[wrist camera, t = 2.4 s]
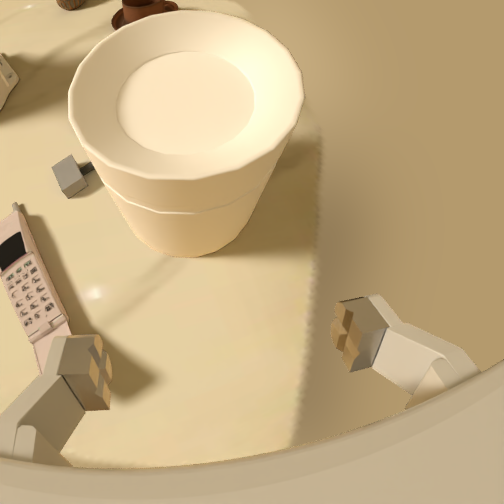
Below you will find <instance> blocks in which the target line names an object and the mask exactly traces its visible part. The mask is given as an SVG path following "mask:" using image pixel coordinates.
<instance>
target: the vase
mask: <svg viewBox="0 0 504 504" xmlns="http://www.w3.org/2000/svg"><path fill="white" fill-rule="evenodd" d="M56 1H57V3H58V5H59V6H60V7H61V8H63V9H66V10H72V9H75V8H77V7H79V6H80V5H82V4H83V2H84V1H85V0H56Z"/></svg>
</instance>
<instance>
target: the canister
mask: <svg viewBox="0 0 504 504" xmlns="http://www.w3.org/2000/svg"><path fill="white" fill-rule="evenodd" d="M304 100H305V92H304V85H303V78H302V72H301V70H300V68H299V66H298V65H297V63H296V61H295V59H294V58H293V56H292V54H291V53H290V51H289V49H288V48H286V47H285V46H284V45H283V44H282V43H281V42H280V41H279V40H278V39H276V38H275V37H274V36H273V35H272V34H271V33H270V32H268V31H267V30H265V29H263V28H261V27H259V26H257V25H255V24H253V23H251V22H249V21H247V20H245V19H243V18H239V17H236V16H232V15H228V14H223V13H219V12H215V11H201V10H179V11H172V12H166V13H160V14H155V15H150V16H148V17H145V18H142V19H140V20H137V21H135V22H132V23H130V24H127V25H125V26H123V27H121V28H119V29H118V30H116V31H115V32H113V33H112V34H111V35H109V36H108V37H106V38H105V39H103V40H102V41H101V42H99V43H98V44H97V45H96V46H95V47H94V48H93V49H92V50H91V52H90V53H89V54H88V55H87V56H86V57H85V59H84V60H83V61H82V62H81V63H80V65H79V66H78V68H77V71H76V73H75V76H74V78H73V80H72V83H71V85H70V88H69V91H68V119H69V121H70V123H71V125H72V127H73V129H74V131H75V133H76V135H77V137H78V139H79V141H80V143H81V144H82V146H83V148H84V150H85V152H86V154H87V155H88V157H89V159H90V161H91V162H92V164H93V166H94V168H95V170H96V171H97V173H98V175H99V176H100V178H101V180H102V182H103V183H104V185H105V187H106V188H107V190H108V192H109V193H110V195H111V197H112V198H113V200H114V202H115V203H116V205H117V207H118V208H119V210H120V212H121V213H122V215H123V216H124V218H125V220H126V221H127V223H128V224H129V226H130V228H131V229H132V231H133V232H134V234H135V235H136V237H138V238H139V239H140V240H141V241H143V242H144V243H145V244H146V245H147V246H149V247H150V248H151V249H153V250H155V251H158V252H161V253H164V254H166V255H169V256H172V257H193V258H195V257H199V256H202V255H206V254H209V253H213V252H216V251H218V250H219V249H221V248H222V247H224V246H225V245H227V244H228V243H230V242H231V241H233V240H234V239H235V238H236V237H237V235H238V234H239V233H240V232H241V230H242V229H243V228H244V226H245V225H246V224H247V222H248V220H249V218H250V216H251V214H252V212H253V210H254V208H255V206H256V204H257V202H258V200H259V198H260V196H261V194H262V192H263V190H264V188H265V186H266V184H267V182H268V180H269V178H270V176H271V174H272V172H273V170H274V168H275V166H276V164H277V161H278V159H279V157H280V156H281V154H282V152H283V150H284V148H285V146H286V144H287V142H288V140H289V138H290V136H291V135H292V133H293V131H294V129H295V127H296V125H297V122H298V119H299V116H300V112H301V109H302V106H303V103H304Z"/></svg>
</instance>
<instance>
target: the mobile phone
mask: <svg viewBox="0 0 504 504" xmlns="http://www.w3.org/2000/svg"><path fill="white" fill-rule="evenodd" d="M12 207H13V212H12V213H11V214H10V215H9V216H7V217H6V218H5V219H3V220H2V221H1V222H0V277H1V279H2V282H3V284H4V287H5V289H6V292H7V294H8V297H9V299H10V301H11V303H12V306H13V308H14V310H15V312H16V314H17V316H18V318H19V320H20V322H21V324H22V326H23V328H24V330H25V332H26V334H27V336H28V337H29V341H30V343H32V344H33V349H34V353H35V357H36V362H37V366H38V369H39V373H40V375H42V374H43V370H44V367H45V363H46V359H47V356H48V352H49V349H50V345H51V342H52V339H53V338H54V337H55V336H69V335H72V334H71V331H70V329H69V326H68V322H69V318H68V315H67V313H66V311H65V309H64V307H63V305H62V303H61V301H60V299H59V296H58V294H57V292H56V290H55V288H54V285H53V283H52V281H51V279H50V276H49V274H48V272H47V270H46V267H45V265H44V263H43V261H42V258H41V256H40V254H39V251H38V249H37V247H36V244H35V242H34V239H33V237H32V234H31V232H30V230H29V227H28V225H27V223H26V220H25V218H24V216H23V214H22V212H21V211H20V208H19V206H18V204H17V203H16V202H15V203H13V204H12Z"/></svg>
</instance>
